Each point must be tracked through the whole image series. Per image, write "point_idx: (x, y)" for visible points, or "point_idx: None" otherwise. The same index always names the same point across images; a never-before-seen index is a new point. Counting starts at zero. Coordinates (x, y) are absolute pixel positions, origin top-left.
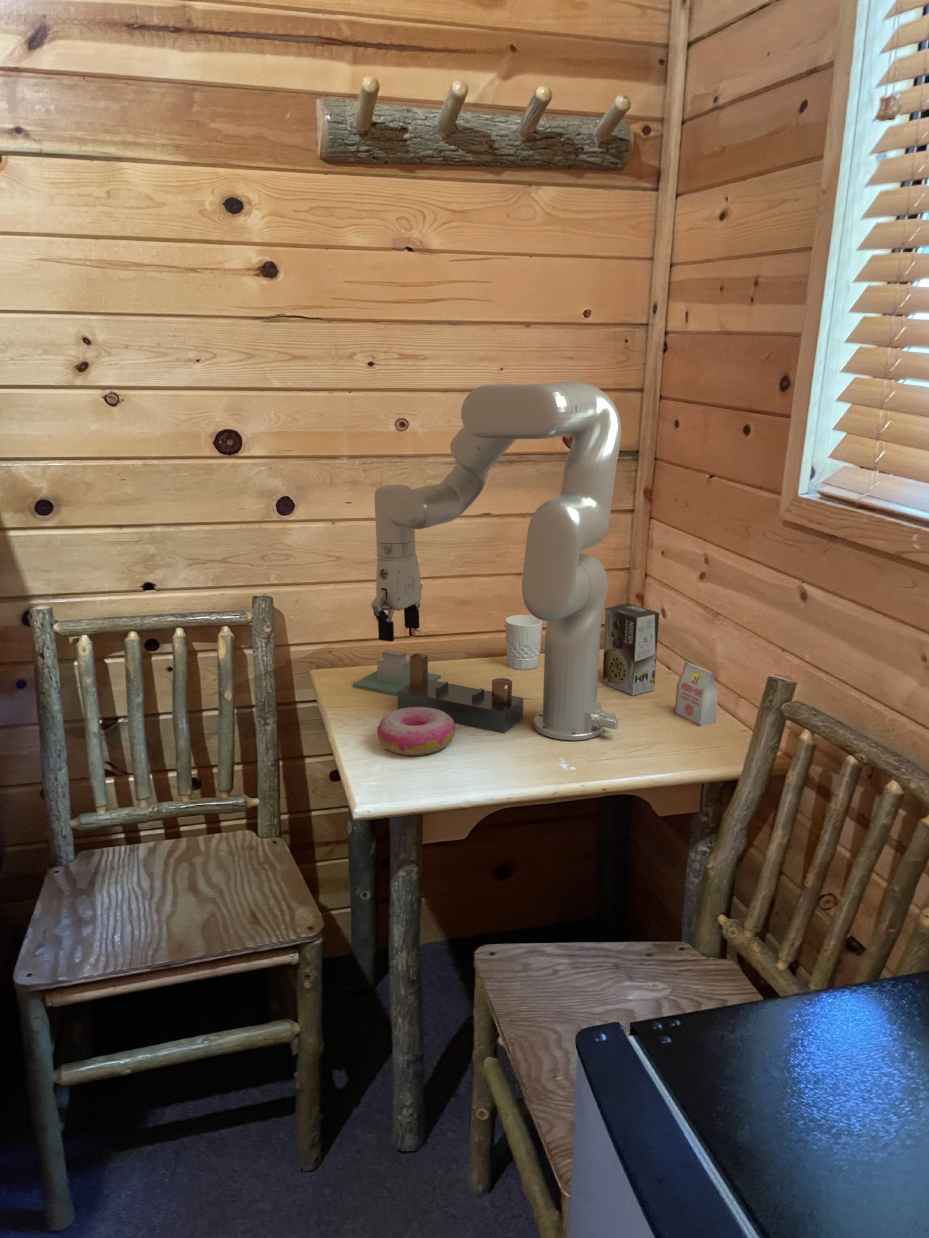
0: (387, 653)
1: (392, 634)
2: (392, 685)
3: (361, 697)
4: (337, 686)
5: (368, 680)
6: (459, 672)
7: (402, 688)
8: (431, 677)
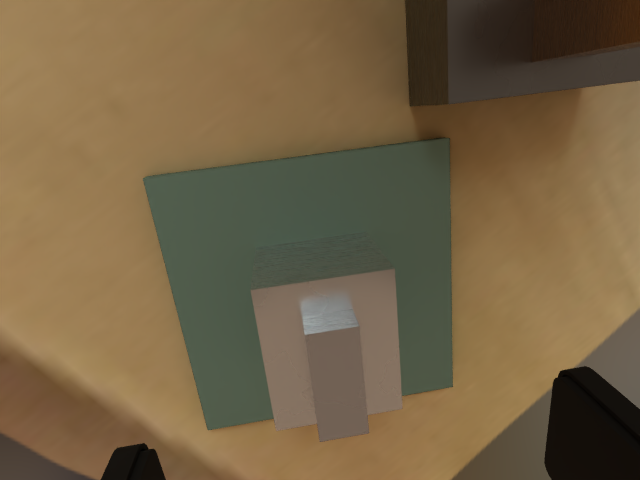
0: (365, 404)
1: (636, 407)
2: None
3: (519, 291)
4: (468, 416)
5: None
6: (15, 147)
7: (629, 75)
8: (202, 194)
